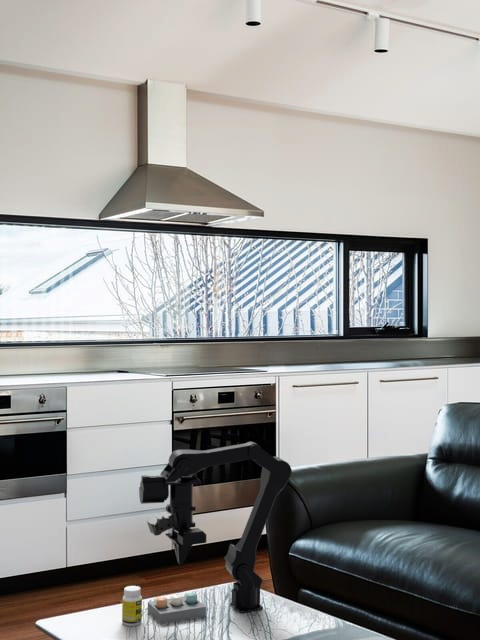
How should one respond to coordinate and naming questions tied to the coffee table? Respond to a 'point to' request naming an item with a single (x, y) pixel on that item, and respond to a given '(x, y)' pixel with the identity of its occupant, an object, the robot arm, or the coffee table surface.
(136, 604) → the supplement bottle
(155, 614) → the panel
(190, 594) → the light blue egg
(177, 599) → the cream white egg
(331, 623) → the coffee table surface
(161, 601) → the peach orange egg
